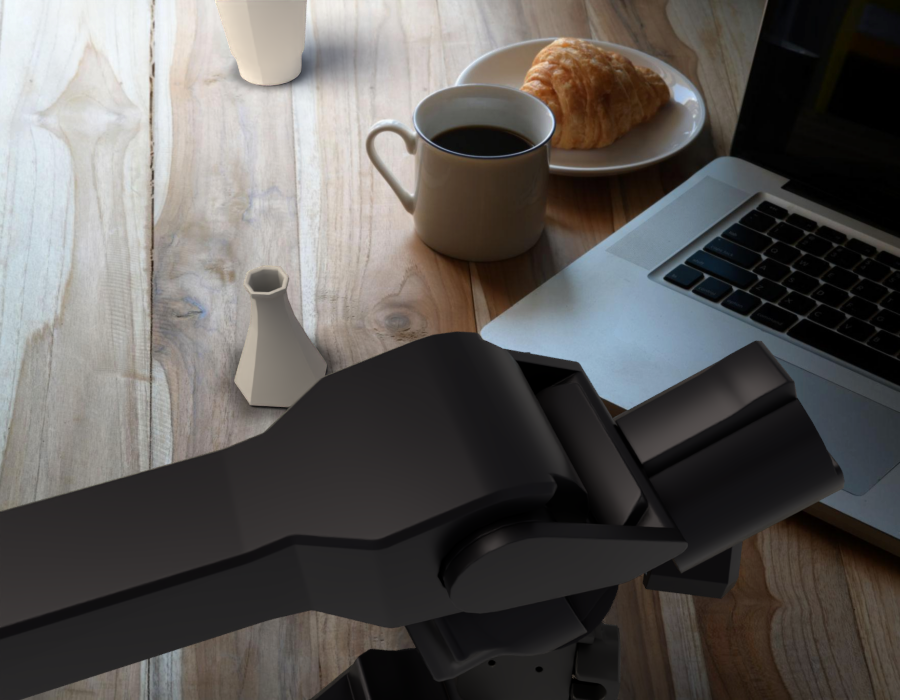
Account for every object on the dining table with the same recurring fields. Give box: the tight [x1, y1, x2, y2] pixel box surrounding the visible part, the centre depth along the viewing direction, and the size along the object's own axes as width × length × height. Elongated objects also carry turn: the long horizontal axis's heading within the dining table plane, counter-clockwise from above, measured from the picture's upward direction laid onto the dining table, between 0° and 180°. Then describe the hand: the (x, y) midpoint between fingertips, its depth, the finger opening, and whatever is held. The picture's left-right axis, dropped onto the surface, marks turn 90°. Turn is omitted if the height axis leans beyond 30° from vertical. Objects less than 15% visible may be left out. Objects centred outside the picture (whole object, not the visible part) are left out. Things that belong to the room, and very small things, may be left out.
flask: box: [233, 264, 328, 408], centre depth 69 cm, size 7×7×10 cm
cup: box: [214, 0, 308, 87], centre depth 99 cm, size 12×12×16 cm
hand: (529, 475), depth 51 cm, fingers closed
